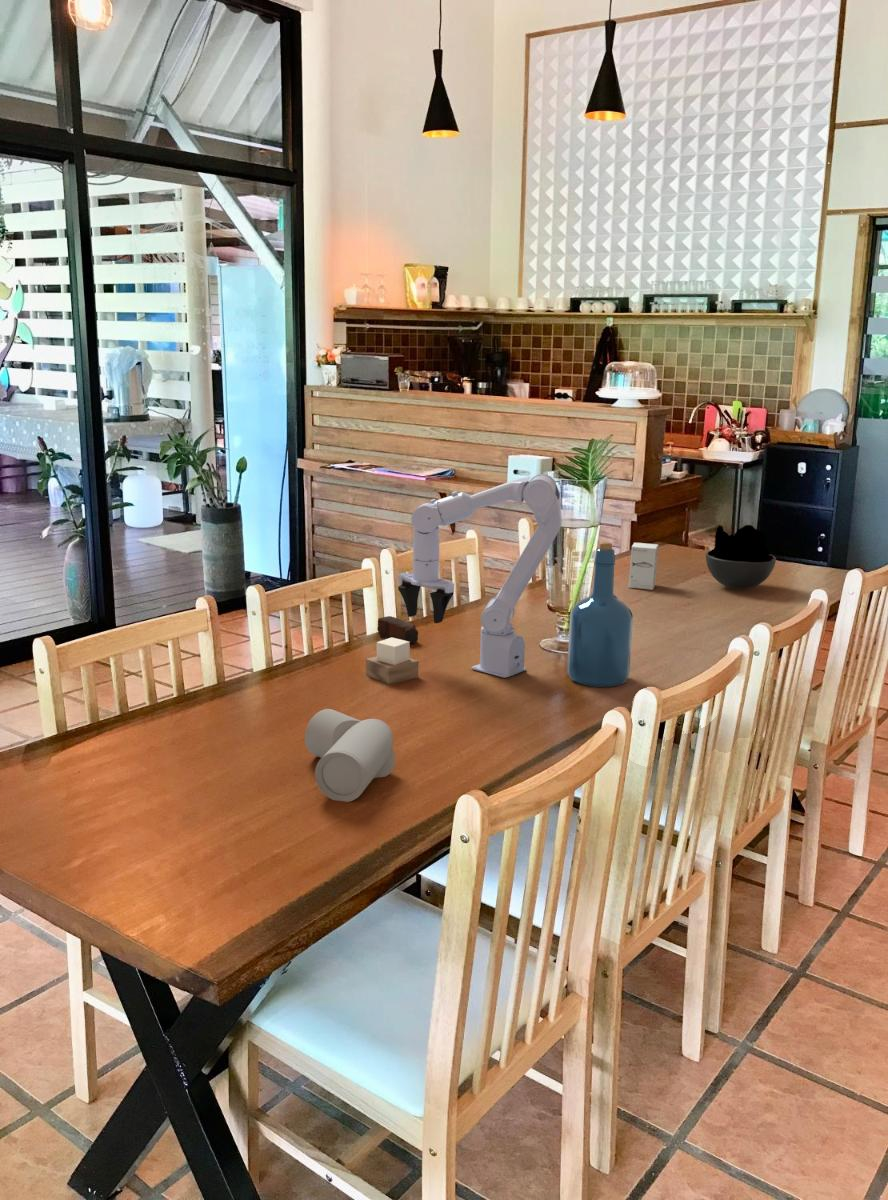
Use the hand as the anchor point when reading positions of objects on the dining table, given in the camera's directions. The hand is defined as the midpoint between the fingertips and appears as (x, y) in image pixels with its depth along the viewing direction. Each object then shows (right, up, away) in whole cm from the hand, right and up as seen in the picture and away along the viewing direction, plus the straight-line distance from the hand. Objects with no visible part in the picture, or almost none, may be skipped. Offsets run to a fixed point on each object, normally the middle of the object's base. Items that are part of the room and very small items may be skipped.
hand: (425, 619), depth 229 cm
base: (-7, -12, -6) cm, 15 cm away
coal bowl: (+92, +7, +79) cm, 121 cm away
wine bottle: (+37, -13, -5) cm, 40 cm away
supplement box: (+63, +8, +79) cm, 102 cm away
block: (-7, -9, -7) cm, 13 cm away
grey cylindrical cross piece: (-12, -25, -57) cm, 63 cm away
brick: (-7, -6, +21) cm, 23 cm away
